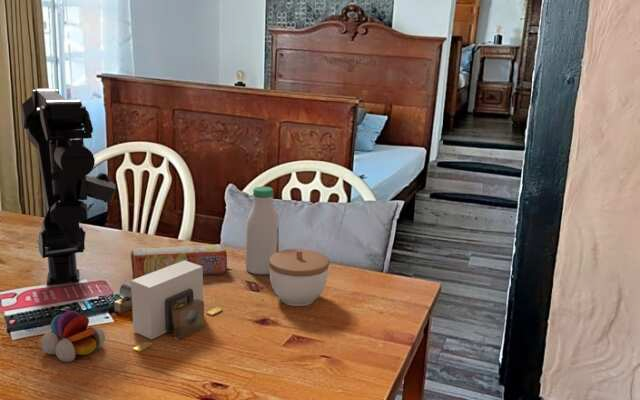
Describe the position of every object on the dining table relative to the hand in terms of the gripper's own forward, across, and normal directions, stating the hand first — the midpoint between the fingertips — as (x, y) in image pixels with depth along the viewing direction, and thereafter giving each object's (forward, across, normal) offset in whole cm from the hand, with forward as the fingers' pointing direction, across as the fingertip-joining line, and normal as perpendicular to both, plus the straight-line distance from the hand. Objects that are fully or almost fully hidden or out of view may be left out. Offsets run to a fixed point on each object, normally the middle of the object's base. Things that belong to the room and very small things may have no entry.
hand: (73, 243), depth 119 cm
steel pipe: (+13, -11, -15) cm, 23 cm away
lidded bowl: (+13, -10, -44) cm, 47 cm away
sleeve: (+13, -14, -17) cm, 25 cm away
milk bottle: (+13, +8, -41) cm, 44 cm away
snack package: (+14, +10, -22) cm, 28 cm away
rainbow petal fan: (+13, -19, 0) cm, 23 cm away
